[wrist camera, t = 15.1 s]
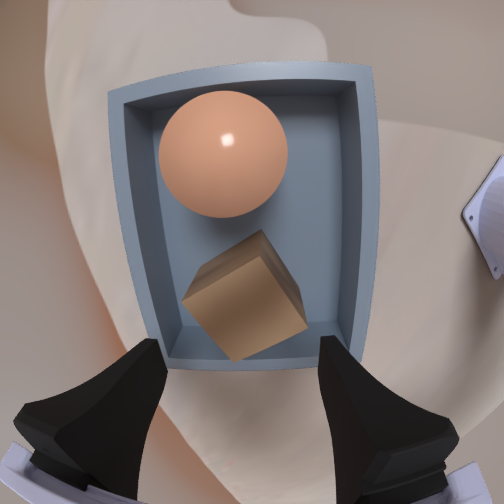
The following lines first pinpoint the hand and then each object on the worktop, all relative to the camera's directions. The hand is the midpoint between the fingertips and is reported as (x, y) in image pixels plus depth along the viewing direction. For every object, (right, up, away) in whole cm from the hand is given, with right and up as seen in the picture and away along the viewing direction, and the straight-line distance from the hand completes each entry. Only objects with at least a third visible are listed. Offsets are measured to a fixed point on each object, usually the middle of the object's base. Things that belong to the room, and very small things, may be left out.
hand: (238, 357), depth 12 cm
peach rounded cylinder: (0, +10, +5) cm, 12 cm away
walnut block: (0, +3, +8) cm, 8 cm away
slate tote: (+1, +7, +7) cm, 10 cm away
